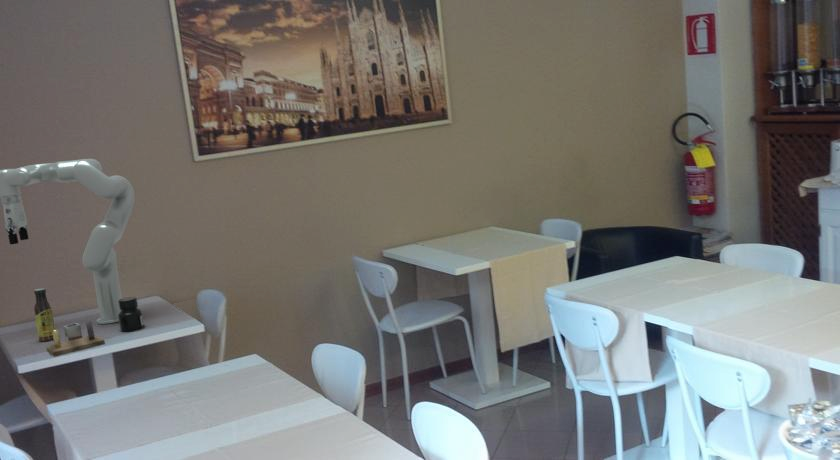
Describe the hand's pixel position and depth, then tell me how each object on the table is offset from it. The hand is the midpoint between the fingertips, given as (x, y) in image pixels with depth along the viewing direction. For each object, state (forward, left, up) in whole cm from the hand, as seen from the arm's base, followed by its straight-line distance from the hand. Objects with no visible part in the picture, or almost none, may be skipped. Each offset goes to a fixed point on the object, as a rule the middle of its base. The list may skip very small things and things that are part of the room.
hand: (19, 241), depth 366 cm
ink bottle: (-28, +41, -37) cm, 62 cm away
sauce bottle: (0, +24, -37) cm, 44 cm away
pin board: (-5, +48, -36) cm, 61 cm away
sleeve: (-7, +37, -36) cm, 53 cm away
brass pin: (+1, +48, -36) cm, 61 cm away
